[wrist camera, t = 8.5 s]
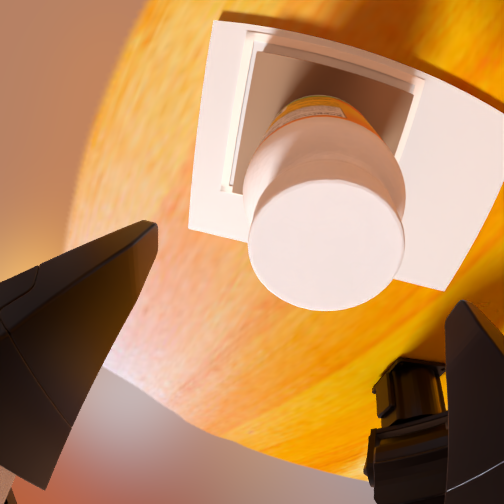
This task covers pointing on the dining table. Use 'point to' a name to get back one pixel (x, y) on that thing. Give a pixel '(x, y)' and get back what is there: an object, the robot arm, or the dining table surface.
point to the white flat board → (407, 155)
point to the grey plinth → (314, 83)
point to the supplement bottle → (324, 206)
